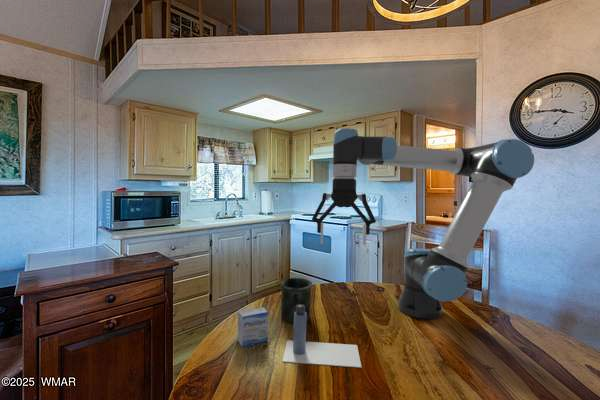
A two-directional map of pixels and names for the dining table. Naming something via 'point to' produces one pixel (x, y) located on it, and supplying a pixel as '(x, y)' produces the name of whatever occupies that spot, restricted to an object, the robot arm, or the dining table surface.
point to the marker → (299, 330)
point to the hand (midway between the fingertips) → (342, 244)
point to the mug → (295, 297)
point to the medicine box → (252, 326)
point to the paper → (324, 354)
